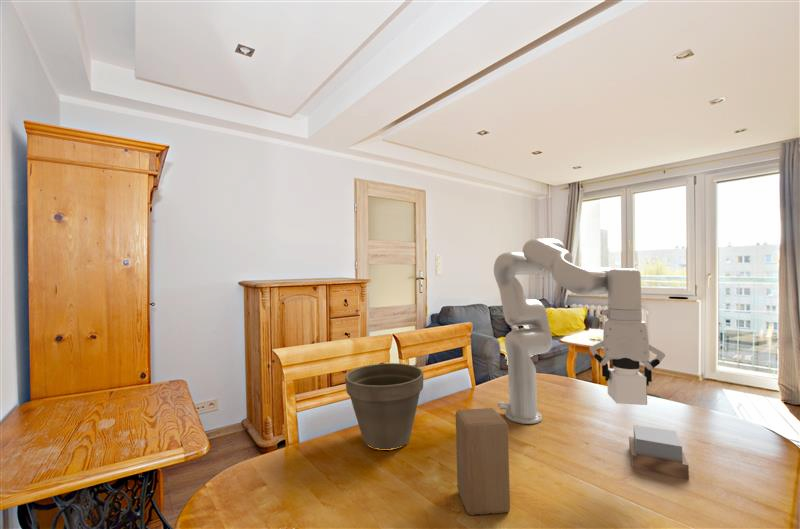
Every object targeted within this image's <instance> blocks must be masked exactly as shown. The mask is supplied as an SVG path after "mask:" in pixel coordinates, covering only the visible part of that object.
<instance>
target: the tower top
mask: <svg viewBox="0 0 800 529" xmlns="http://www.w3.org/2000/svg"><path fill="white" fill-rule="evenodd" d="M633 437H634V442H635V448H636V454H641V455H646V456H652V457H657V458H662V459H668V460H673V461H678V462H683V458H682V452H683V445H682V443H681V441H680V438H679V436H678V433H677V432H676V430H671V429H670V430H669V429H664V428H659V427H658V428H657V427H652V426H651V427H650V426H645V425H638V424H633Z"/></svg>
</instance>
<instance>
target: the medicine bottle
mask: <svg viewBox="0 0 800 529" xmlns="http://www.w3.org/2000/svg"><path fill="white" fill-rule="evenodd" d="M611 360H612V368H609V367H608V380H607V381H606V382H607V384H606V385H607V395H608V396H609V397H610V398H611V399H612V400H613V401H614V402H615V403H616V404H622V405H635V406H636V405H637V406H638V405H639V406H647V405H648V386H647V378H646V377H645V376H644V374H643V373H642V372H640V371H641V370H640V368H641V367H640V362H639V361H633V360H631V359H629V358H621V359H618V360H617V359H611Z"/></svg>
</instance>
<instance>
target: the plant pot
mask: <svg viewBox="0 0 800 529" xmlns="http://www.w3.org/2000/svg"><path fill="white" fill-rule="evenodd" d="M344 381H345V390H346V394H347V395H348V396H349V397H350V401H351V405H352V408H353V410H354V414H355V417H356V418H355V419H356V420H357V424H358V427H359V431H360V434H361V437H362V440H363V442H364V444H365V443H366V444H367V445H369V446H371V447H373V448H379V449H391V448H397V447H400V446H403V445H405V444H406V443H407V444H409V442H410V439H411V435H412V432H413V427H414V422H415V417H416V413H417V408H418V404H419V399H420V394H421V392H422V391H423V389H424V371H423V369H421V368H420V367H417V366H415V365H411V364H405V363H399V362H398V363H395V362H390V363H389V362H387V363H384V362H383V363H375V364H369V365H365V366H360V367H357V368H354V369H351V370H350V371H348V372H347V373H346V375H345V377H344ZM366 444H365V445H366ZM407 444H406V445H407ZM367 445H366V446H367ZM406 445H405V446H406ZM403 447H404V446H403Z"/></svg>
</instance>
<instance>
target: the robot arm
mask: <svg viewBox="0 0 800 529" xmlns="http://www.w3.org/2000/svg"><path fill="white" fill-rule="evenodd" d="M544 271H547V272H548V273H551V277H552V278H553V280H554V282H555V283H556V284H557V285H559V286H560V287H562V288H563V289H566V291H568V292H571V293H573V294H574V295H578V296H579V295H580V296H593V295H607V308H606V309H604V310H603V309H602V310H601V315H602V316H605V317H608V318H606V319H605V320H604V324H603V325H604V326H603V335H602V336H603V337H602V340H601V341H599V342H597V343H596V344H593V345H591V346H589V348H588V349H589V351H590V353H591V354H592V356H593V357H594V359H595V360H596V361H597V362H599V364H600V365H601V376H602V377H604V381H606V382H607V380H608V368H609V363H608V362H610V360H612V359H617V360H618V359H621V358H629V359H631V360H633V361H639V363H641V362H642V364H643V365H644V368H643V372H644V373H643V375H644V376H645V377H646V378H647V387H648V386H649V385H650V383H652V376H653V375H652V370H654V369H655V368H656V367H657V366H659V364H661V362H662V360H663V359H664V358H665V357H666V353H665V352H663V351H662V350H660V349H658V348H657V347H655V346H653V345H651V344H650V343H649V333H648V327H647V324H646V321H645V320H642V318H643V317H642V315H643V313H642V311H643V310H642V284H641V283H642V280H641V279H642V278H641V277H642V276H641V272H640V270H639V269H636V268H631V267H629V268H628V267H627V268H622V267H620V268H611V267H580V266H577V265H575V264H573V255H572V253H571V252H570V251H569V250H567V249H566V247H565V245H564V243H563V242H562V241H561V240H559V239H556V238H532V239H530V240H528V241H526V242H525V244H524V245H523V247H522V251H508V252H504V253H501V254H500V255H498V256H497V258H496V259H495V261H494V264H493V275H494V276H493V277H494V279H495V282H496V284H497V286H498V290H499V295H500V301H501V306H502V311H503V317H504V321H505V322H506V323H507V325H509V326H512V327H513V326H514V327H517V326H518V327H519V326H528V327H529V328H522V329H520V328H519V329H514V330H511V331H509V332H508V333H507V334H506V335H505V338H504V348H505V352H506V357H507V369H508V370H507V371H508V372H507V373H508V399H509V400H508V401H507V402H503V401H497V407H498V408H499V409H500V410H505V413H504V415H505V416H504V417H506V419H508V420H509V421H512V422H514V423H518V424H523V425H525V424H527V425H532V424H537V423H540V422H541V421H542V420H543V415H542V414H541V413H540V412H539V411H538V403H537V402H538V397H537V392H538V391H537V370H536V365H535V364H534V362H533V360H532V359H531V356H534V355H535V356H536V355H543V354H546V353H548V352H550V351H551V349H552V346H553V337H552V336H553V335H552V332H551V328H550V327H551V326H550V322H549V317H548V313H547V309H546V308H545V305H544V304H543V303H542V302H541V301H540V300H538V299H536V298H535V299H534V298H526V296H525V293H524V288H523V285H522V283H521V282H520V280H519V279H518V278H517V277H516V275H517V276H518V275H520V276H523V275H525V276H526V275H537V274H539V273H542V272H544ZM601 348H602V349H603V350H602V351H603V352H602V353H603V356H601V354H599V352H598V351H597V350H599V349H601ZM650 352H651V353H653V354H655V355H656V356H655V358H653V359H652V360H651V361H649V360H650Z"/></svg>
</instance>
